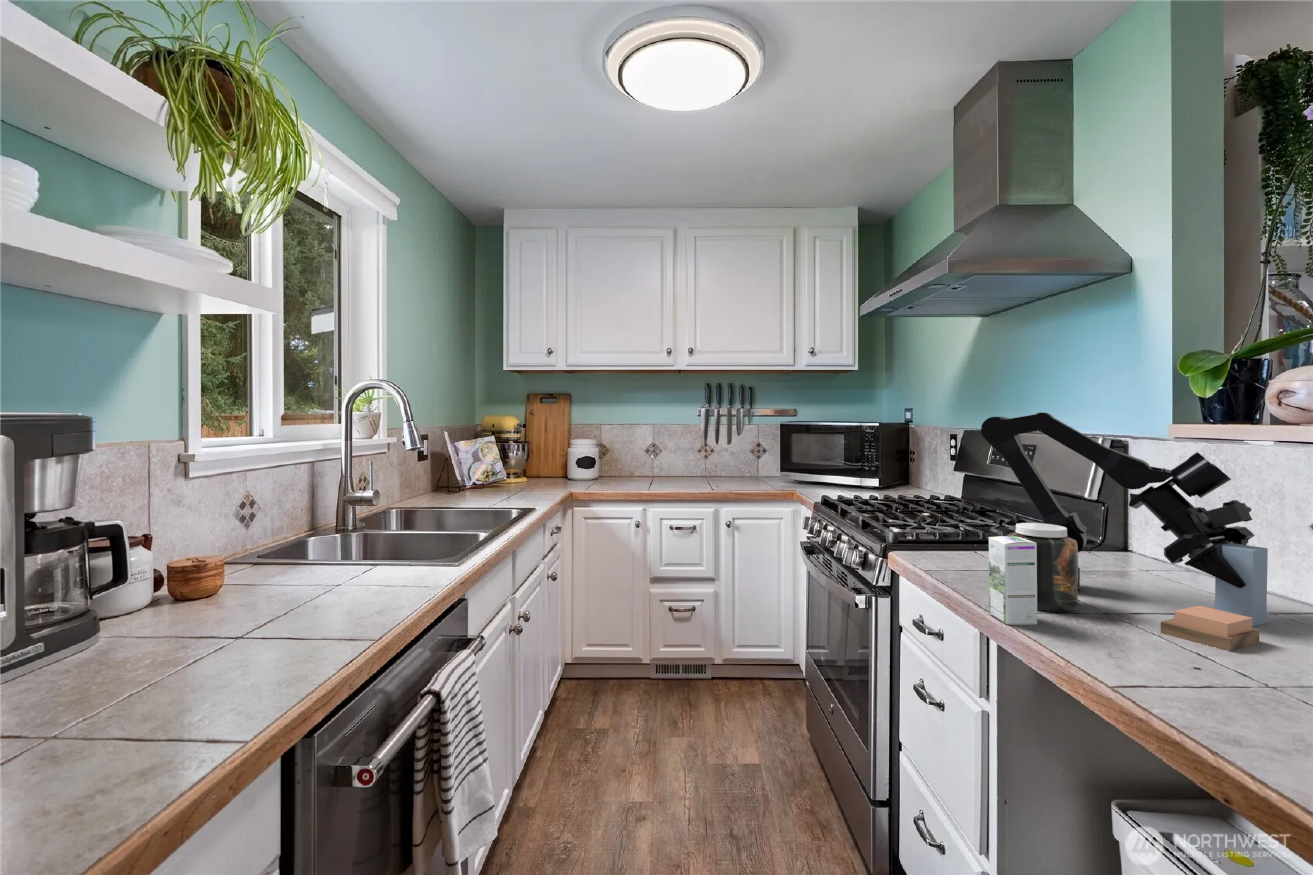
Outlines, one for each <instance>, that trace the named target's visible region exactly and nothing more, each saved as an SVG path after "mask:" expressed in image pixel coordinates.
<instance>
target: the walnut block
mask: <svg viewBox="0 0 1313 875" xmlns="http://www.w3.org/2000/svg"><path fill="white" fill-rule="evenodd" d="M1160 634H1162V635H1166V636H1169V637H1174V638H1179V639H1181V640H1185V641H1188V642H1193V643H1196V644H1199V643H1201V644H1200V645H1203V644H1204V646H1207V645H1208V646H1207V647H1210V646H1211V648H1214V647H1216V648H1215V649H1218V650H1222V651H1225V650H1227V651H1226V652H1233V651H1236V650H1239V648H1240V649H1242V648H1241V647H1243V648H1245V647H1249V646H1252V645H1255V644H1258V643H1260V629H1256V628H1252V631H1248V632H1244V633H1240V634H1236V635H1232V636H1229V637H1226V636H1222V635H1218V634H1215V633H1211V632H1207V631H1203V630H1199V629H1196V628H1192V627H1188V626H1184V625H1180V624H1176V623H1174V617H1173V618H1171V619H1166V620H1162V621H1160Z"/></svg>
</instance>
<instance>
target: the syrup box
mask: <svg viewBox="0 0 1313 875" xmlns="http://www.w3.org/2000/svg"><path fill="white" fill-rule="evenodd" d="M988 598H989V599H988V600H989V603H988V609H989V610H988V612H989V614H988V615H990V616H991V617H993V618H994V619H997V620H998V621H1000V622H1001V623H1003V624H1005V625H1013V626H1018V625H1019V626H1025V625H1026V626H1029V625H1030V626H1032V625H1038V610H1037V543H1035V542H1032V541H1029V540H1026V539H1023V538H1020V537H1015V536H1007V535H1001V536H989V537H988Z"/></svg>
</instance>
